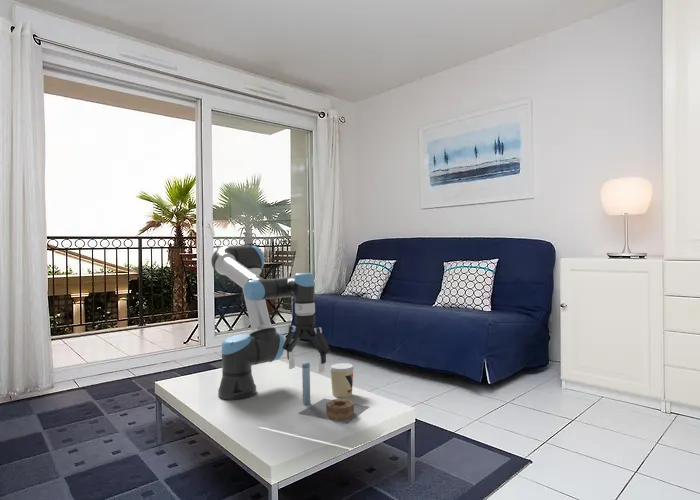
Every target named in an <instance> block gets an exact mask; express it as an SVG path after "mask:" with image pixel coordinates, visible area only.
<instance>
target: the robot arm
mask: <svg viewBox="0 0 700 500" xmlns="http://www.w3.org/2000/svg"><path fill="white" fill-rule="evenodd" d="M210 262H211V267H212V268H213V269H214V271H215V272H216V273H218V274H219V275H222V276H226V277H227V278H228V279H230V281H232V282H234V283H235V284H237V285H238V286H239V287H240V288H242V293H243V298H244V301H245V307H246V310H247V316H248V321H249V324H250V328H251V331H250V332H249V334H247V333H244V334H243V333H242V334H236V335H232V336H229V337H226V338H225V339H224V340H223V341H222V343H221V352H220V353H221V369H222V377H221V381H220V383H219V387H218V391H217V392H218V395H217V396H218V397H219V398H220V399H222V400H230V401H235V400H242V399H243V400H244V399H248V398H250V397H252V396H255V395H256V393H257V385H256V384H255V380H254V377H253V374H252V371H253V370H252V367H253V366H256V365H259V364H260V365H262V364H265V363H272V362H274V361H277V360H280V359H281V358H282V357H283V355H284V352H285V351H286V354H287V357H286V358H287V360H288V370H292V369H294V368H295V369H296V363H295V362H296V361H295V360H296V358H295V357H296V356H295V350H294V348H295V347H296V346H297V344H298V343H299V341H300V340H304V339H305V340H309V341H310V342H311V343H312V345H313V346H314V347H315V349H316V350H317V352H318V353H319V354H318V374H322V373H324V372H325V368H326V367H325V364H326V362H327V354H330V353H331V349H330V346H329V344H328V342H327V339H326V337H325V335H324V333H323V332H324V330H323V327H322V326H320V327H316V315H315V313H316V302H315V295H316V294H315V290H316V289H315V276H314V274H313V273H312V272H301V273H295V274H294V277H289V276H288V277H287V276H285V277H284V276H283V277H280V278H266V279H265V278H263V277H261V276H260V274H261V273H262V269H263V268H264V266H265V255H264V254H263V251H262V250H261V248H260V247H259V246H256V245H251V244H250V245H249V244H247V245H225V246H221V247H219V248H217V249H216V250H215V251H214V252H213V254H212V256H211V261H210ZM281 298H294V313H295V316H294V321H295V325H294V324H293V325H289V327H288V333H287V335H286V337H285V339H284V335H282V333H280V332H277V329H276V327H275V326H273V325H272V323H271V318H270V314H269V311H268V307H267V302H266V300H272V299H281ZM295 332H296V334H295ZM294 335H295V336H294Z"/></svg>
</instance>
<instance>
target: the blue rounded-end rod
mask: <svg viewBox="0 0 700 500" xmlns="http://www.w3.org/2000/svg"><path fill="white" fill-rule="evenodd" d="M310 367H311V364H310V362H309V361H303V362H302V363H301V368H302V369H301V370H302V373H301V375H302V378H301V379H302V404H303V406H309V405H311V375H310V374H311V371H310V370H311V368H310Z"/></svg>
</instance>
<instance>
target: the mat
mask: <svg viewBox="0 0 700 500" xmlns="http://www.w3.org/2000/svg"><path fill="white" fill-rule="evenodd" d="M331 400H332V399H329V398H322V399H320V400H319V401H317V402H315V403H314V404H312V405H310V406H309V407H307V408H304V409H302V411H300V412H298V414H300V415H303V416H308V417H313V418H319V419H322V420H323V419H324V420H329V421H333V422H337V423H338V422H339V423H344V424H349V423H351V422H352V421H353V420H355V418H357V417H358V416H360V415H361V414H362V413H364V412H365V411H366V410H368V409H370V406H367V405H361V404H358V403H354V415H353V416H352V417H351V418H349V419H344V420H335V419H330V418H328V416H327V414H326V403H327V402H329V401H331Z"/></svg>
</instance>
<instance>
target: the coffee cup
mask: <svg viewBox="0 0 700 500" xmlns="http://www.w3.org/2000/svg"><path fill="white" fill-rule="evenodd" d="M354 368H355V367H354V365H353V364H351V363H349V362H339V363H334V364H332V365H330V368H329V369H330V379H331V391H332V396H333V397H335V398H339V399H345V398H349V397H351V396H352V395H353V384H354V383H353V381H354Z"/></svg>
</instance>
